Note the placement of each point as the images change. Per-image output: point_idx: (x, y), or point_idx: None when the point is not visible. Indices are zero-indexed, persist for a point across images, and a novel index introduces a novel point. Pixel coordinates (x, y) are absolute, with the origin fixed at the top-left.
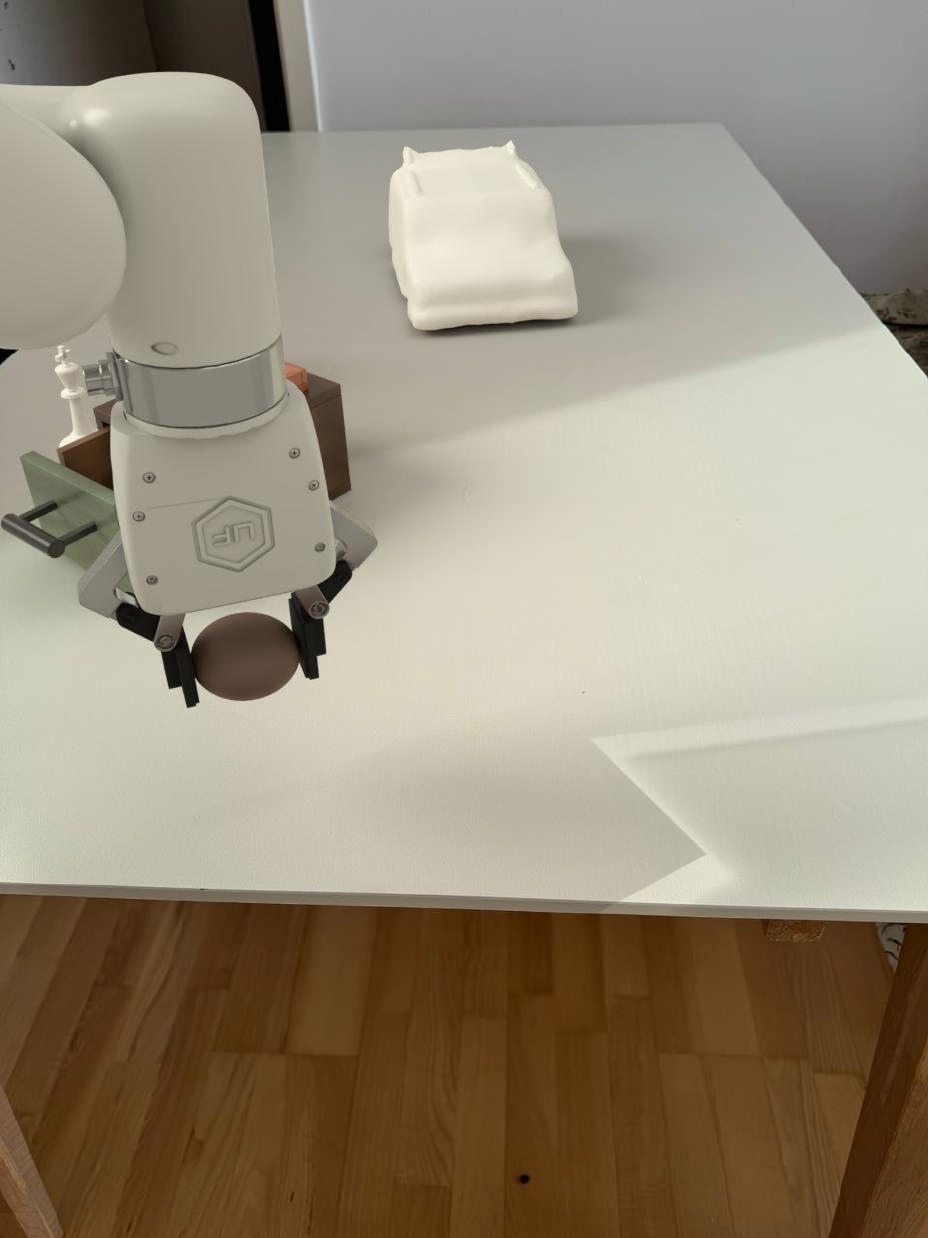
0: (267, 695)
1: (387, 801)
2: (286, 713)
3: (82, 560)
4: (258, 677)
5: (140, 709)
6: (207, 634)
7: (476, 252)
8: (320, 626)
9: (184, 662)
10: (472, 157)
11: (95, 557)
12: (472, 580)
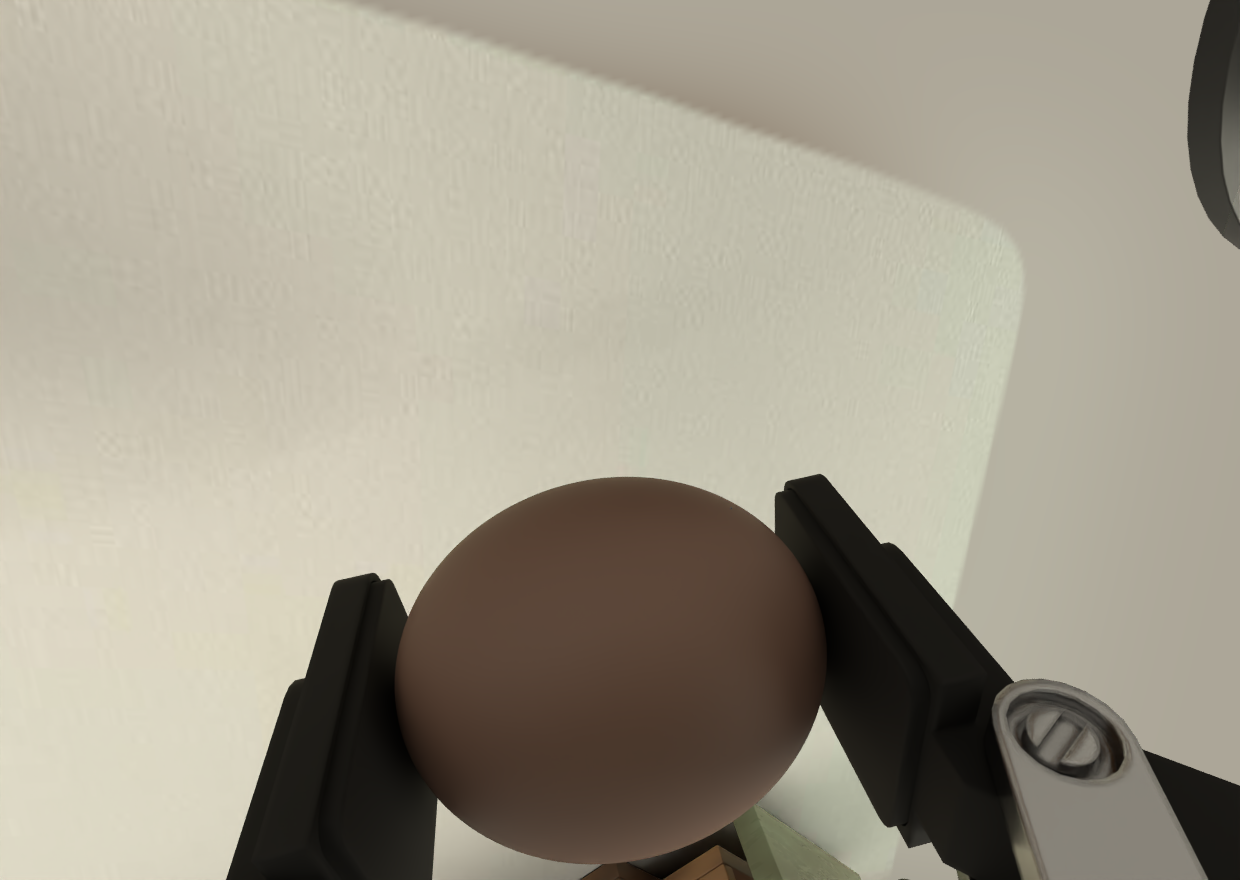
0: (536, 494)
1: (250, 289)
2: None
3: (821, 857)
4: (574, 548)
5: None
6: (780, 764)
7: None
8: (260, 821)
9: (917, 625)
10: None
11: (813, 869)
12: (118, 864)
